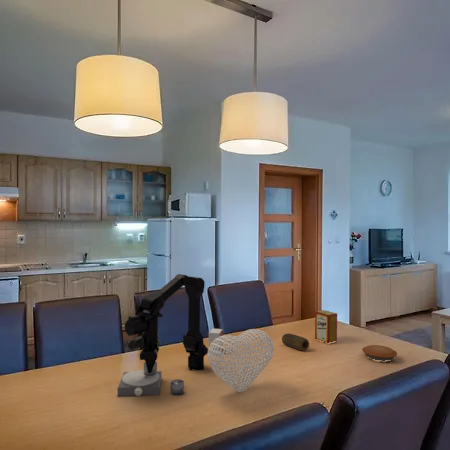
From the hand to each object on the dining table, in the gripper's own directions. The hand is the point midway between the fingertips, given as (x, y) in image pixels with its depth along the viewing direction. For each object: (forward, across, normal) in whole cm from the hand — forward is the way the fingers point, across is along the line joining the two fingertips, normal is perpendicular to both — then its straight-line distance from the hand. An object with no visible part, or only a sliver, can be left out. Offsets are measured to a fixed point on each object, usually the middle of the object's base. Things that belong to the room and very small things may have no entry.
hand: (150, 370), depth 153 cm
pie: (+7, -25, +105) cm, 109 cm away
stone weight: (+7, -43, +70) cm, 82 cm away
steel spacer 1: (+1, 0, 0) cm, 1 cm away
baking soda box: (+7, -53, +89) cm, 104 cm away
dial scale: (+6, 0, -4) cm, 7 cm away
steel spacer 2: (+6, +6, +10) cm, 14 cm away
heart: (+6, +7, +34) cm, 36 cm away
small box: (+7, -39, +28) cm, 49 cm away
